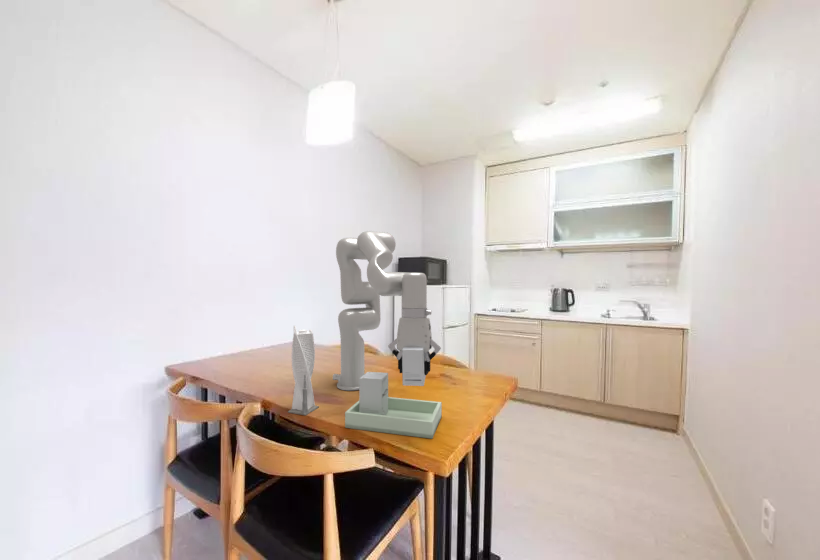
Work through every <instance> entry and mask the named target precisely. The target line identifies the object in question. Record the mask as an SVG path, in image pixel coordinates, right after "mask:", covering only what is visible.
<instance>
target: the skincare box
mask: <svg viewBox="0 0 820 560" xmlns="http://www.w3.org/2000/svg"><path fill="white" fill-rule="evenodd" d="M424 362H425V357H424V348H420V347H403V349H402V373H401V374H402V386H410V387H411V386H415V387H417V386H418V387H424V386H425V382H426V381H425V380H426V376H427V375H424Z"/></svg>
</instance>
